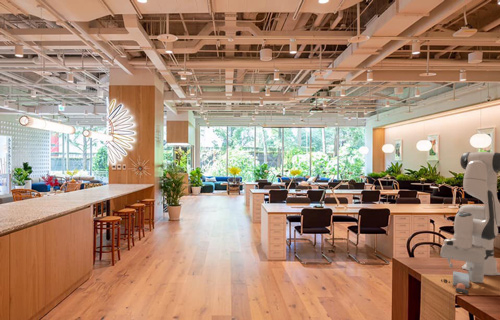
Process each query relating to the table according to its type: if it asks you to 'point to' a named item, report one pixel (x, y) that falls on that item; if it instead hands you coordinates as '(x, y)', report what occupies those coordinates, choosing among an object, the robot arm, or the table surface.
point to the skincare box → (476, 272)
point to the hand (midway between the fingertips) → (461, 268)
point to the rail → (462, 290)
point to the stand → (445, 280)
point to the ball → (461, 286)
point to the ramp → (460, 278)
